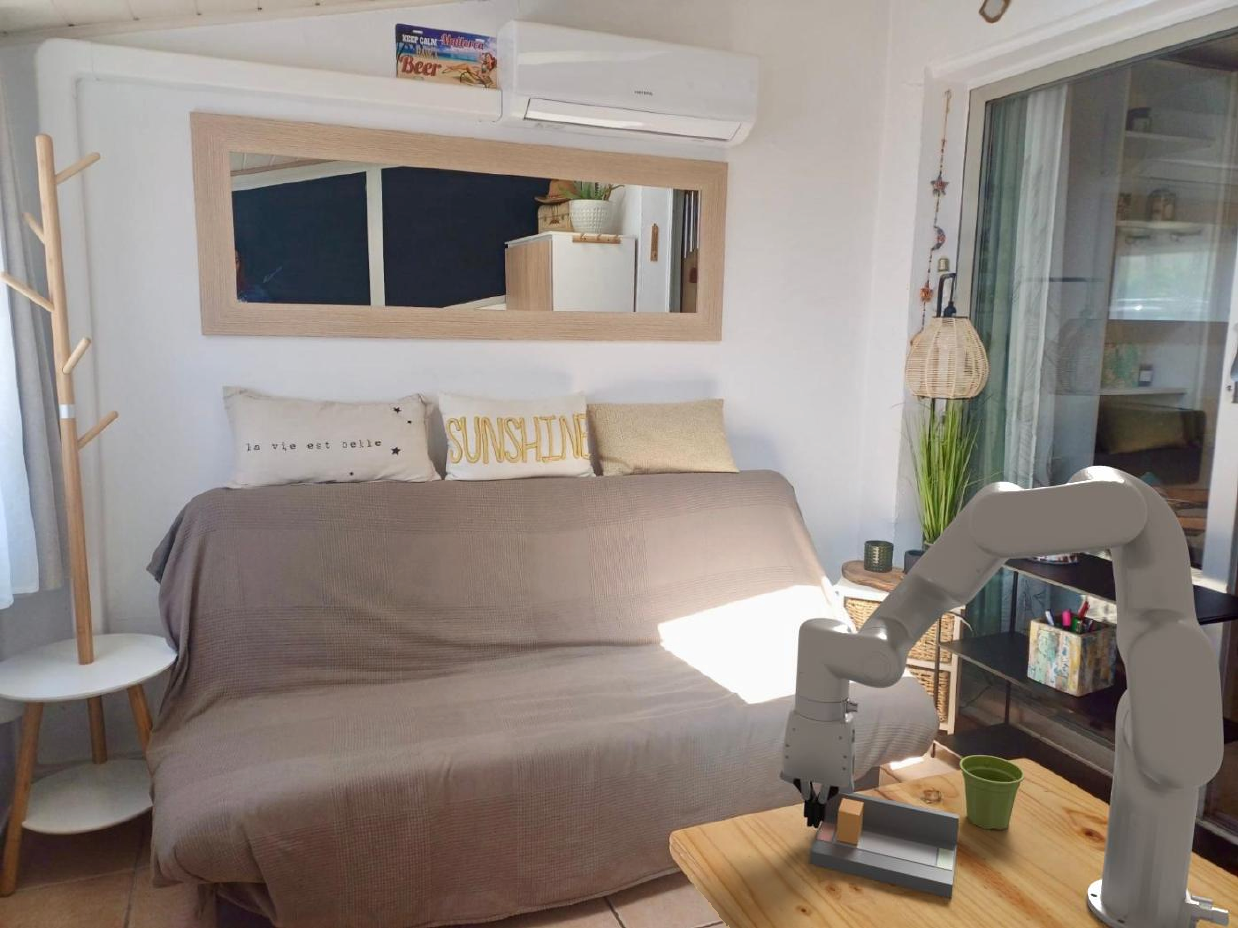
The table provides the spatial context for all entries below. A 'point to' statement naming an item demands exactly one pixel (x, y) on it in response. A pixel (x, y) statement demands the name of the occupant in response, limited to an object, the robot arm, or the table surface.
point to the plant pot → (990, 789)
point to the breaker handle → (850, 821)
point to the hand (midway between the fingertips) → (814, 822)
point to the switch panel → (892, 844)
